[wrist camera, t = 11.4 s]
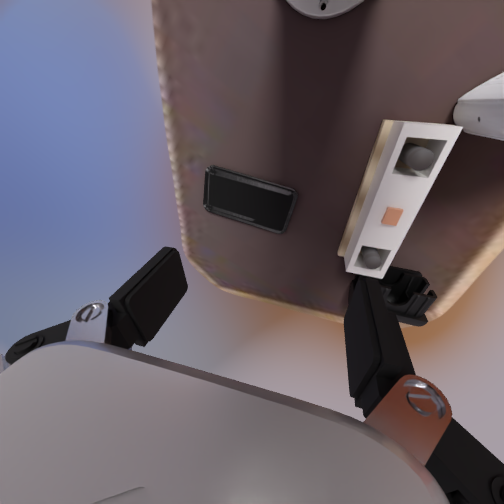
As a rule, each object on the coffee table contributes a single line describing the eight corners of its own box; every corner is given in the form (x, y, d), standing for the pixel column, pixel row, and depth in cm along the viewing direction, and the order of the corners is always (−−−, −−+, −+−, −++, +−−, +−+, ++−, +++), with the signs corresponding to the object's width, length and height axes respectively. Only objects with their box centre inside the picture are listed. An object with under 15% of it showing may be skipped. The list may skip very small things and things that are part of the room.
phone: (205, 164, 33) (299, 192, 32) (208, 162, 34) (299, 190, 33) (202, 210, 38) (284, 236, 36) (205, 207, 39) (284, 233, 37)
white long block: (393, 120, 24) (406, 122, 21) (444, 123, 23) (466, 127, 20) (343, 256, 35) (346, 273, 31) (376, 262, 34) (383, 281, 31)
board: (382, 119, 25) (397, 122, 20) (450, 124, 24) (483, 129, 19) (337, 251, 36) (339, 274, 31) (382, 260, 35) (391, 285, 30)
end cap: (346, 289, 40) (349, 318, 35) (359, 259, 36) (365, 286, 31) (404, 302, 38) (418, 335, 33) (425, 272, 34) (444, 303, 29)
